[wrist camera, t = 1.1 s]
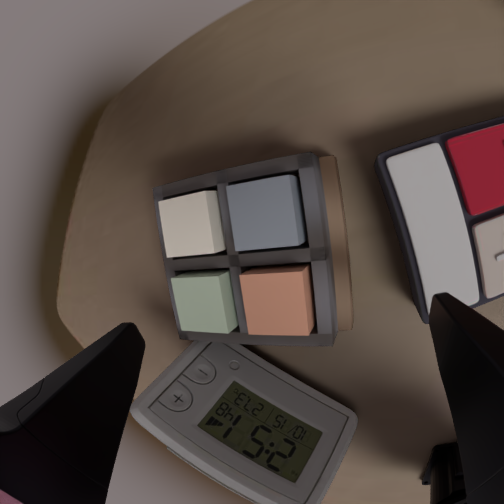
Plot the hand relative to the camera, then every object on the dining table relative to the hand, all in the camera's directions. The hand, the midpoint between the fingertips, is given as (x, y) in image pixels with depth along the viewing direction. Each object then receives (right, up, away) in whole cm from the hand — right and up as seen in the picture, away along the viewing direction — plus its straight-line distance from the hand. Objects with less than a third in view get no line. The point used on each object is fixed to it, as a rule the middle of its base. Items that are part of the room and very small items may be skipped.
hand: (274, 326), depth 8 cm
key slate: (+1, +5, +11) cm, 12 cm away
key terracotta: (+2, -1, +12) cm, 12 cm away
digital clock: (+2, -10, +17) cm, 20 cm away
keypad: (0, +2, +15) cm, 15 cm away
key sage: (-3, -1, +14) cm, 15 cm away
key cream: (-4, +4, +14) cm, 15 cm away
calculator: (+16, +5, +8) cm, 19 cm away
